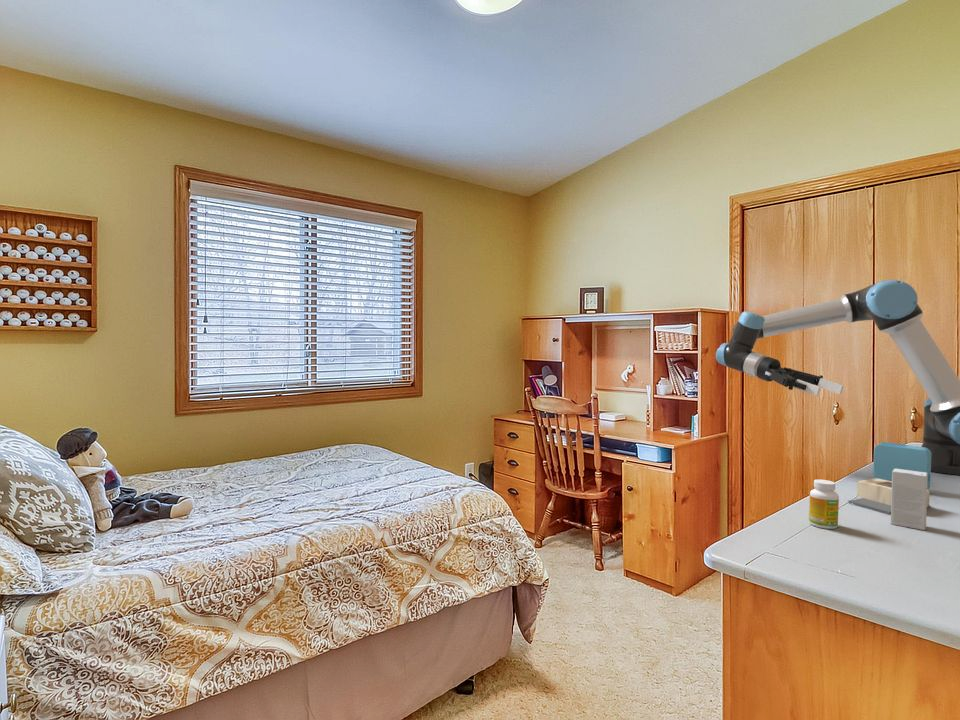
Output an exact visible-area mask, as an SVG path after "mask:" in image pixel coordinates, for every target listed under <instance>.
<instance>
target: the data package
mask: <svg viewBox="0 0 960 720" xmlns="http://www.w3.org/2000/svg"><path fill="white" fill-rule="evenodd" d="M872 468H873V469H872V479H875V478H878V479H883V480H887V481H891V482H892V471H893V470H894V469H903V470H911V471H918V472H926V473H928V478H927V490H930V488H931V472H932V471H931V451H930V450H929V449H928V448H925V447H921V446H918V445H917V446H915V445H910V444H909V445H908V444H901V443H893V442H880V443H878V444H876V445H875V446H874V448H873V467H872Z"/></svg>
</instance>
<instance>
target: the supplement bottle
mask: <svg viewBox="0 0 960 720" xmlns="http://www.w3.org/2000/svg"><path fill="white" fill-rule="evenodd" d="M835 490H836V482H834V481H832V480H827V479H814V480H813V489H812V490H810V491H809V511H808V512H809V513H808V523H809V524H810V525H812V526H813V527H816V528H819V529H820V528H821V529H826V530H833V529H837V528H838V524H839V505H840V504H839V503H840V496H839V494H838V493H837V492H836V491H835Z"/></svg>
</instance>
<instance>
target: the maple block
mask: <svg viewBox="0 0 960 720" xmlns="http://www.w3.org/2000/svg"><path fill="white" fill-rule="evenodd" d="M856 485H857V486H856V497H858V498H860V499H861V498H865V499H869V500H872V501H876V502H880V503H884V504H887V505H891V497H892V482H891V481H887V480H883V479H878V478H875V479H873V478H869V479H863V480H857V484H856ZM930 492H931V491H930V489H928V490H927V508H930V506H929V504H930V494H931V493H930Z"/></svg>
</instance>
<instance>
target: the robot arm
mask: <svg viewBox="0 0 960 720" xmlns="http://www.w3.org/2000/svg"><path fill="white" fill-rule="evenodd" d="M918 300H919V299H918V293H917V292H916V290H915V288H914V287H913V286H912V285H910V284H909V283H907V282H905V281H902V280H898V279H888V280H887V279H886V280H882V281H879V282H877V283H874V284H871V285H868V286H866V287H864V288H862V289H859V290H857V291H853V292H849V293H846V294H842V295H841V296H840V298H837V299H833V300H829V301H823V302H819V303H815V304H814V303H813V304H810V305H805V306H801V307H797V308H791V309H787V310H782V311H780V312H779V311H778V312H775V313H770V314H765V315H759V314H756V313H753V312H751V311H745V310H744V311H743V312H741V313H740V316H739V318H738V321H737V322H736V323H734V325H733V327H732V336H731V339H730V340H729V342H723V343H721V345H719V348H717V350H716V352H715V359H716V361H717V363H719V364H721V365H722V366H725V367H727V368H729V369H732V370H734V371H735V370H736V371H739V372H742V373H743V374H747V375H748V376H749V377H750V378H752V377H755V378H758V379H760V380H761V381H765V382H768V383H770V382H773V381H774V382H775V383H778V384H779V385H781V386H783V387H785V388H787V390H789V391H792V390H793V389H796V390H799V391H802V392H803V393H807V394H810V395H812V396H815V397H818V396H819V394H820V390H821V389H824V390H827V391H830V392H833V393H835V394H838V395H841V394H842V391H843V390H844V389H843V388H844V386H845V385H843V384H841V383H837V382H834V381H831V380H829V379H825V378H824V376H823V375H815V374H812V373H808V372H804V371H801V370H796V369H793V368H790V367H781V362H780V360H778V359H776V358H773V357H771V356H767V355H765V354H762V353H758V352H755V351H753V349H754V347H755V345H756V342H757V341H758V340H759V339H762V338H767V337H771V336H772V337H773V336H777V335H781V334H782V335H783V334H786V333H791V332H796V331H801V330H806V329H811V328H817V327H821V326H825V325H831V324H835V323H839V322H847V323H849V324H851V323H856V322H861V321H862V322H863V321H873V323H874V324H875V326H876V327H877V328H878V330H879V332H881V333H886V334H888V335H889V337H890V338H891V340H892V341H893V343H894V345H896V348H897V349H898V351H899V352H900V354H901V355H902V357H903V359H904V360H905V361H906V363H907V365H908V367H909V368H910V370H911V371H912V373H913V374H914V375H915V378H916V379H917V380H918V382H919V384H920V385H921V387H922V388H923V389H924V391H925V393H926V395H927V396H928V397H927V398H926V399H925V401H924V406H923V430H922V431H923V433H922V434H923V435H922V443H921V446H920V447H925V448H928V449H929V450H930V451H931V472H933V473H938V474H939V473H940V474H945V473H947V474H946V475H953V474H955V476H960V378H959V377H958V375H957V374H956V373H955V370H954V369H953V368H952V366H951V365H950V362H949V361H948V360H947V358H946V357H945V355H944V354H943V352H942V350H941V349H940V348H939V346H938V344H937V343H936V342H935V339H934V338H933V337H932V336H931V334H930V332H929V331H928V329H927V327H926V326H925V325H924V323H923V322H922V316H923V315H924V312H923V310H922V309H921V307H920V305H919V304H918Z"/></svg>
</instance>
